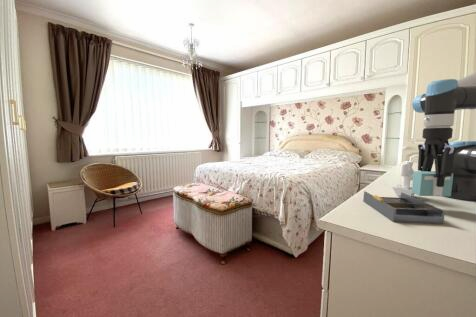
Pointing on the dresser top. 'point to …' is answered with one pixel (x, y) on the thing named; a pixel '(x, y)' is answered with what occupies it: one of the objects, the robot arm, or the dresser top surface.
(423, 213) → the tray
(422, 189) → the teal box
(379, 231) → the dresser top surface
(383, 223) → the dresser top surface
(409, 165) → the figurine
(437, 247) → the dresser top surface
